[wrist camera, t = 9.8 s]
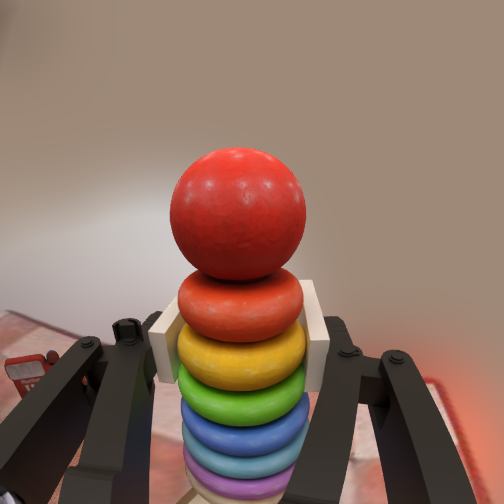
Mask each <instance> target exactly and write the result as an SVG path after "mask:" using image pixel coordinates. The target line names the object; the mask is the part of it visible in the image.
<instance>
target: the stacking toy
mask: <svg viewBox="0 0 504 504" xmlns="http://www.w3.org/2000/svg"><path fill="white" fill-rule="evenodd" d="M305 222H306V206H305V200H304V197H303V192H302V189H301V187H300V185H299V182H298V181H297V179H296V177H295V176H294V174H293V173H292V172H291V171H290V170H289V169H288V168H287V167H286V166H285V165H284V164H283V163H282V162H280V161H279V160H278V159H277V158H275V157H273V156H272V155H270V154H268V153H266V152H262V151H259V150H256V149H250V148H226V149H220V150H217V151H214V152H211V153H209V154H207V155H205V156H203V157H201V158H200V159H198V160H197V161H196V162H194V163H193V164H192V165H191V166H190V167H189V168H188V169H187V170H186V171H185V173H184V174H183V175H182V176H181V178H180V180H179V181H178V183H177V185H176V187H175V190H174V192H173V196H172V200H171V207H170V223H171V228H172V232H173V236H174V239H175V241H176V243H177V245H178V247H179V249H180V251H181V252H182V254H183V255H184V257H185V258H186V259H187V260H188V261H189V262H190V263H191V264H192V265H193V266H194V267H195V268H197V269H198V270H197V271H195V272H193V273H192V274H191V275H189V276H188V277H187V278H186V279H185V280H184V282H183V283H182V285H181V287H180V289H179V291H178V300H177V304H178V308H179V311H180V314H181V316H182V318H183V319H184V321H185V322H186V324H185V325H184V326H183V328H182V330H181V332H180V334H179V337H178V343H177V347H178V354H179V358H180V360H181V364H180V366H179V370H178V385H179V389H180V392H181V394H182V399H181V414H182V418H183V422H182V435H183V440H184V447H183V453H184V459H185V468H186V474H187V477H188V479H189V482H190V484H191V485H192V487H193V488H194V490H195V491H196V492H197V493H198V494H199V495H200V496H201V497H202V498H203V499H205V500H206V501H207V502H209V503H210V504H278V502H279V500H280V499H281V498H282V496H283V494H284V492H285V489H286V487H287V484H288V482H289V480H290V477H291V475H292V472H293V469H294V467H295V464H296V462H297V459H298V456H299V454H300V451H301V448H302V445H303V442H304V440H305V437H306V434H307V431H308V428H309V425H310V423H309V419H308V414H309V408H310V403H309V397H308V393H307V392H304V370H303V362H302V359H303V357H304V354H305V350H306V337H305V333H304V330H303V328H302V326H301V325H300V323H299V322H298V321H297V318H298V317H299V315H300V313H301V310H302V307H303V302H304V296H303V290H302V287H301V285H300V283H299V281H298V280H297V279H296V277H295V276H294V275H292V274H291V273H290V272H288V271H287V270H285V269H283V268H281V267H282V266H283V265H284V264H285V263H286V262H287V261H288V260H289V259H290V258H291V257H292V255H293V253H294V252H295V250H296V249H297V247H298V245H299V243H300V241H301V238H302V236H303V232H304V228H305Z"/></svg>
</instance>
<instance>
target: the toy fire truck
mask: <svg viewBox="0 0 504 504" xmlns="http://www.w3.org/2000/svg"><path fill="white" fill-rule="evenodd" d="M46 357H47V360H46V358H45V357H44V356H43V355H41V354H35V355H29V356H23V357H17V358H10V359H7V360H6V361H5V370H6V372H7V375H8V377H9V378H10V379H11V380H13V382H14V384H15V386H16V388H17V390H18V392H19V394H20V396H21V398H22V399H23V398H24V397H25V395H26V394H27V393H28V392H29V391H30V390H31V389H32V388H33V387H34V385H35V384H36V383H37V382H38V381H39V380H40V379H41V378H42V377H43V376H44V375H45V374H46V372H47V371H48V370H49V369H50V368H51V367H52V366H53V365H54V364H55V363H56V362H57V361H58V360H59V359H60V358H59V355H58V353H57V352H56V351H53V350H50V351H49V352H48V353H47V355H46ZM82 382H83V384H84V383H85V382H86V380H85V377H83V380H82Z"/></svg>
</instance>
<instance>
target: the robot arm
mask: <svg viewBox="0 0 504 504" xmlns="http://www.w3.org/2000/svg"><path fill="white" fill-rule="evenodd" d="M299 283H300V285H301V287H302V290H303V296H304V302H303V307H302V310H301V313H300V315H299V317H298V318H297V321H298V322H299V323H300V325H301V326H302V328H303V330H304V333H305V337H306V350H305V354H304V357H303V359H302V362H303V370H304V392H320V393H319V396H318V399H317V403H316V406H315V409H314V412H313V415H312V419H311V422H310V425H309V428H308V431H307V434H306V437H305V440H304V442H303V445H302V448H301V451H300V454H299V456H298V459H297V462H296V464H295V467H294V469H293V472H292V475H291V477H290V480H289V482H288V484H287V487H286V489H285V492H284V494H283V496H282V498H281V499H280V500H279V502H278V504H339V500H340V496H341V492H342V488H343V484H344V480H345V475H346V471H347V466H348V461H349V456H350V451H351V446H352V440H353V434H354V428H355V421H356V414H357V407H358V403H360V404H367V405H368V409H369V413H370V417H371V421H372V425H373V429H374V434H375V438H376V442H377V447H378V452H379V456H380V461H381V466H382V471H383V476H384V482H385V487H386V493H387V499H388V504H477V502H476V499H475V496H474V493H473V490H472V487H471V485H470V482H469V479H468V476H467V474H466V471H465V469H464V466H463V464H462V461H461V459H460V456H459V454H458V452H457V449H456V447H455V445H454V442H453V440H452V438H451V435H450V433H449V431H448V429H447V427H446V425H445V422H444V420H443V418H442V416H441V414H440V412H439V410H438V408H437V406H436V404H435V402H434V400H433V398H432V396H431V394H430V392H429V390H428V388H427V386H426V384H425V382H424V380H423V378H422V376H421V375H420V373H419V371H418V369H417V367H416V365H415V363H414V362H413V360H412V358H411V357H410V356H409V354H407V353H405V352H403V351H400V350H389V351H386V352H384V353H383V355H382V356H381V359H378V358H371V357H366V356H363V353H362V351H361V350H360V348H358V347H357V346H354V345H353V343H352V340H351V338H350V336H349V333H348V331H347V328H346V326H345V324H344V322H343V320H342V319H340V318H339V317H337V316H332V317H331V316H330V317H323V315H322V312H321V308H320V305H319V302H318V298H317V295H316V292H315V289H314V286H313V282H312V280H299ZM177 300H178V294H177V296H176V297H175V298H174V299H173V301H172V302H171V303H170V304H169V306H168V307H167V308H166V309H165V311H164V312H160V311H156V312H155V313H153V314H151V315H150V316H149V317H148V318H147V319H146V321H144V323H143V324H142V325H141V322H140V321H139V320H137V319H134V318H127V319H121V320H118V321H117V322H115V323H114V324H113V325H112V327H113V331H114V335H115V339H116V343H115V345H110V346H102V345H101V342H100V339H99V338H97V337H94V336H87V337H83V338H81V339H79V340H78V341H76V342H75V343H74V344H73V345H72V346H71V347H70V348H69V349H68V350H67V351H66V353H65V354H64V355H63V356H62V357H61V358H60V359H59V360H58V361H57V362H56V363H55V364H54V365H53V366H52V367H51V368H50V369H49V370H48V371H47V372H46V374H45V375H44V376H43V377H42V378H41V379H40V380H39V381H38V382H37V383H36V384H35V385H34V387H33V388H32V389H31V390H30V391H29V392H28V393H27V394H26V395H25V397H24V398H23V399H22V400H21V401H20V402H19V403H18V405H17V406H16V407H15V408H14V409H13V410H12V411H11V413H10V414H9V415H8V416H7V417H6V418H5V420H4V421H3V422H2V423H1V424H0V504H48V502H49V500H50V499H51V497H52V495H53V493H54V491H55V489H56V487H57V486H58V484H59V482H60V480H61V478H62V476H63V475H64V478H63V482H62V487H61V491H60V496H59V501H58V504H149V467H150V444H151V427H152V414H153V402H154V392H155V383H154V380H153V378H154V376H155V374H156V373H157V375H158V379H159V382H164V383H171V384H175V382H176V380H177V378H178V370H179V366H180V364H181V360H180V358H179V354H178V347H177V343H178V337H179V334H180V332H181V330H182V328H183V326H184V325H185V324H186V322H185V321H184V319H183V318H182V316H181V314H180V311H179V308H178V304H177ZM84 376H85V378H86V380H87V381H86V382H85V383H84V384H83V382H82V380H83V377H84ZM84 438H85V439H84ZM83 440H84V443H83V447H82V451H81V455H80V459H79V463H78V465H77V466H76V467H75V466H70V467H68V466H69V464H70V462H71V460H72V459H73V457H74V455H75V453H76V452H77V450H78V448H79V446H80V445H81V443H82V441H83ZM67 467H68V468H67ZM65 471H66V472H65ZM64 473H65V474H64Z"/></svg>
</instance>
